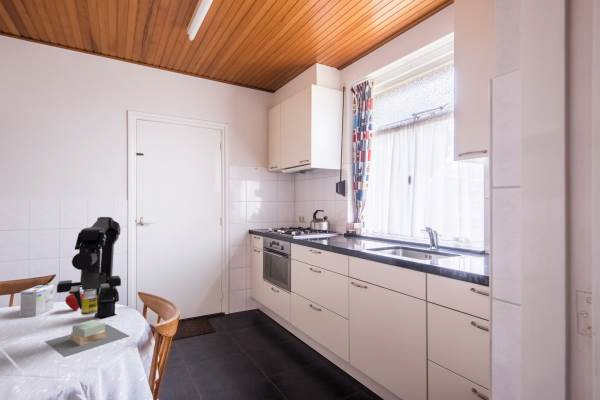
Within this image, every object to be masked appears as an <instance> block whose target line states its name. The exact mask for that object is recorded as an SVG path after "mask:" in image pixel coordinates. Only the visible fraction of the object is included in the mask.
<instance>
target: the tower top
mask: <svg viewBox="0 0 600 400" xmlns="http://www.w3.org/2000/svg"><path fill="white" fill-rule="evenodd" d="M105 325H106V322H103V321H98V320H95V319H91V320H88V321H85V322H82V323H77V324H75V325H72V327H71V328H72V329H71V332H72V333H73V334H76V335H79V336H82V337H87V336H89V335H92V334H95V333H98V332H101V331H103V330H105Z"/></svg>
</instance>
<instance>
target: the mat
mask: <svg viewBox="0 0 600 400" xmlns="http://www.w3.org/2000/svg"><path fill="white" fill-rule="evenodd" d="M105 331H106V338H104V339H101V340H97V341H94V342H91V343H88V344H84V345H81V346H80V345H78V344H77V343H75V342H74V341H72V340H71V333H70V334H68V335H67V334H66V335H63V336H60V337H56V338H52V339H49V340H45V341H44V343H46V344H47V345H48V346H50V347H51V348H52V349H54V351H56V352H57V353H58V354H60V355H61V356H62V357H64V358H67V357H70V356H73V355H76V354H78V353H79V354H80V353H81V352H85V351H89V350H91V349H94V348H97V347H100V346H103V345H106V344H110V343H112V342H113V343H114V342H116V341H119V340H122V339H126V338H129V337H130V335H128V334H126V333H124V332H123V331H121V330H119V329H117V328H115V327H113V326H111V325H109V324H106V323H105Z"/></svg>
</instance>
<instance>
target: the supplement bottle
mask: <svg viewBox="0 0 600 400" xmlns="http://www.w3.org/2000/svg"><path fill="white" fill-rule="evenodd" d="M82 292H83V293H82V294H83V295H84V296H82V308H81V309H80V311H81V315H82V316H92V315H95V313H97V303H98V295H97V294H96V293H97V289H88V290H83V291H82Z"/></svg>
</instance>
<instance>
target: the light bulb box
mask: <svg viewBox="0 0 600 400" xmlns="http://www.w3.org/2000/svg"><path fill="white" fill-rule="evenodd" d="M54 287H55V285H54V284H50V285H49V284H45V285H44V284H42V285H40V284H39V285H36V286H33V287H31V288H27V289H24V290H21V291H20V308H19V309H20V310H19V311H20V313H19V317H37V316H39V315H41V314H44V313H45V312H48V311H49V310H52V309H53V308H54Z"/></svg>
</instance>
